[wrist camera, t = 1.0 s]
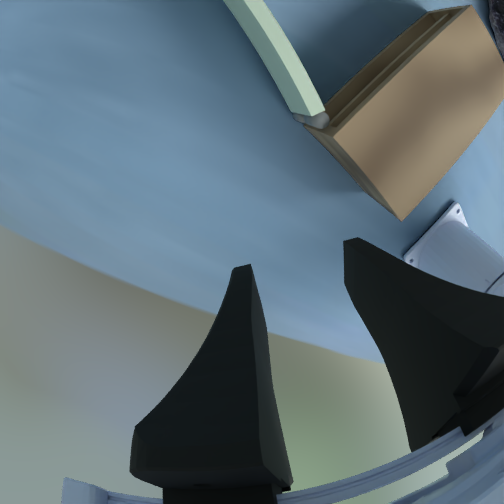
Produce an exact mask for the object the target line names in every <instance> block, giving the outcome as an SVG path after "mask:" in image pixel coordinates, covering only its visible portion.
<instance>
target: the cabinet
mask: <svg viewBox="0 0 504 504" xmlns="http://www.w3.org/2000/svg"><path fill="white" fill-rule="evenodd" d="M503 99H504V62H503V60H502V58H501V56H500V54H499V52H498V50H497V48H496V46H495V44H494V42H493V40H492V38H491V36H490V34H489V32H488V31H487V29H486V27H485V25H484V24H483V22H482V20H481V19H480V17H479V15H478V14H477V12H476V11H475V9H474V8H473V6H472V5H465V6H458V7H451V8H445V9H439V10H434V11H429V12H427V13H426V14H425V15H423V16H422V17H421V18H420V19H418V20H417V21H416V22H415V23H414V24H412V25H411V26H410V27H409V28H408V29H406V30H405V31H404V32H403V33H402V34H400V35H399V36H398V37H397V38H396V39H395V40H394V41H392V42H391V43H390V44H389V45H388V46H387V47H385V48H384V49H383V50H382V51H381V52H380V53H379V54H378V55H376V56H375V57H374V58H373V59H372V60H371V61H370V62H369V63H368V64H367V65H365V66H364V67H363V68H362V69H361V70H360V71H359V72H358V73H357V74H356V75H355V76H354V77H353V78H351V79H350V80H349V81H348V82H347V83H346V84H345V85H344V86H343V87H342V88H341V89H340V90H339V91H338V92H337V93H336V94H335V95H334V96H333V97H332V98H331V99H330V100H328V101H327V102H326V103H325V104H324V105H323V106H324V108H325V111H323V112H325V113H326V114H327V115H328V116H329V119H330V122H329V125H328V126H327V127H326V128H323V129H319V128H316V127H313V126H311V125H308V124H304V125H303V126H304V127H305V128H306V129H307V130H308V131H309V132H310V133H311V134H312V135H313V136H314V137H315V138H316V139H317V140H318V141H319V142H320V143H321V144H322V145H323V146H324V147H325V148H326V149H327V150H328V151H329V152H330V153H331V154H332V156H333V157H334V158H335V159H336V160H337V161H338V162H339V163H340V164H341V165H342V166H343V167H344V169H345V170H346V171H347V172H348V173H349V174H350V175H351V176H352V178H353V179H354V180H355V181H356V182H357V183H358V185H359V186H360V187H361V188H362V189H363V190H364V192H365V193H367V194H368V195H369V196H371V197H372V198H373V199H374V200H376V201H377V202H378V203H379V204H381V205H382V206H383V207H384V208H386V209H387V210H388V211H389V212H390V213H392V214H393V215H394V216H395V217H396V218H398V219H399V220H400V221H401V222H402V221H403V220H404V219H405V218H406V217H407V216H408V215H409V214H410V212H411V211H412V210H413V209H414V208H415V207H416V206H417V205H418V204H419V203H420V202H421V201H422V200H423V199H424V198H425V196H426V195H427V194H428V193H429V192H430V191H431V190H432V189H433V188H434V186H435V185H436V184H437V183H438V182H439V181H440V180H441V179H442V177H443V176H444V175H445V174H446V173H447V172H448V170H449V169H450V168H451V167H452V166H453V165H454V163H455V162H456V161H457V160H458V159H459V157H460V156H461V155H462V154H463V152H464V151H465V150H466V149H467V148H468V146H469V145H470V144H471V143H472V141H473V140H474V139H475V137H476V136H477V135H478V134H479V132H480V131H481V130H482V128H483V127H484V126H485V124H486V123H487V122H488V120H489V119H490V117H491V116H492V115H493V113H494V112H495V110H496V109H497V108H498V106H499V105H500V103H501V102H502V100H503Z"/></svg>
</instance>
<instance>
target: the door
mask: <svg viewBox="0 0 504 504" xmlns="http://www.w3.org/2000/svg"><path fill="white" fill-rule="evenodd" d="M223 1H224V2H225V4H226V5H227V7H228V8H229V9H230V11H231V12H232V14H233V15H234V17H235V18H236V20H237V21H238V23H239V24H240V26H241V27H242V29H243V30H244V32H245V33H246V35H247V36H248V38H249V39H250V41H251V43H252V44H253V46H254V47H255V49H256V51H257V52H258V54H259V56H260V57H261V59H262V61H263V62H264V64H265V66H266V67H267V69H268V71H269V72H270V74H271V76H272V78H273V79H274V81H275V83H276V85H277V87H278V88H279V90H280V92H281V94H282V96H283V98H284V99H285V101H286V103H287V105H288V107H289V109H290V111H291V112H293V118H294V119H295V120H296V121H298V122H302V123H305V124H308V125H311V126H313V127H316V128H319V129H323V128H326V127H327V126H328V125H329V122H330V119H329V116H328V115H327V114H326V113H325V112H323V111H325V108H324V106H323V104H322V102H321V100H320V98H319V96H318V94H317V92H316V90H315V88H314V86H313V84H312V82H311V80H310V78H309V76H308V74H307V72H306V70H305V68H304V67H303V65H302V63H301V61H300V59H299V57H298V56H297V54H296V52H295V50H294V49H293V47H292V45H291V44H290V42H289V40H288V38H287V37H286V35H285V34H284V32H283V30H282V29H281V27H280V25H279V24H278V22H277V21H276V19H275V18H274V16H273V15H272V13H271V12H270V10H269V9H268V7H267V6H266V4H265V3H264V1H263V0H223Z"/></svg>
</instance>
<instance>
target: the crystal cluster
mask: <svg viewBox="0 0 504 504" xmlns="http://www.w3.org/2000/svg"><path fill="white" fill-rule="evenodd" d="M489 8H490V15H489V19H490V23H491V27H492V29H493V31H494V33H495V38H496V42H497V46H498V48H499V50H500V51H501V53H502V56H503V58H504V0H489Z"/></svg>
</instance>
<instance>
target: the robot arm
mask: <svg viewBox="0 0 504 504" xmlns="http://www.w3.org/2000/svg"><path fill="white" fill-rule="evenodd" d="M343 246H344V284H345V286H346V288H347V291H348V293H349V296H350V298H351V300H352V302H353V305H354V306H355V308H356V310H357V312H358V313H359V315H360V317H361V318H362V320H363V322H364V324H365V325H366V327H367V329H368V331H369V332H370V334H371V336H372V338H373V339H374V341H375V343H376V345H377V346H378V348H379V350H380V352H381V355H382V357H383V359H384V362H385V364H386V367H387V369H388V372H389V374H390V377H391V380H392V383H393V386H394V389H395V391H396V394H397V398H398V401H399V404H400V408H401V411H402V415H403V419H404V422H405V427H406V432H407V436H408V442H409V446H410V449H411V452H412V453H410V454H408V455H406V456H403V457H401V458H399V459H397V460H394V461H392V462H390V463H388V464H385V465H382V466H380V467H377V468H375V469H372V470H370V471H367V472H364V473H361V474H358V475H355V476H352V477H349V478H346V479H343V480H339V481H336V482H332V483H329V484H325V485H321V486H317V487H313V488H308V489H304V490H300V491H294V492H289V493H283V494H282V492H285V491H290V490H291V488H290V486H291V484H292V483H293V477H292V473H291V469H290V465H289V460H288V456H287V451H286V447H285V442H284V437H283V433H282V429H281V424H280V419H279V414H278V409H277V404H276V399H275V395H274V390H273V384H272V375H271V365H270V355H269V345H268V335H267V327H266V322H265V317H264V313H263V308H262V304H261V300H260V296H259V293H258V289H257V285H256V282H255V278H254V274H253V270H252V267H251V264H248V265H244V266H240V267H236V268H234V269H233V270H232V273H231V278H230V281H229V285H228V288H227V291H226V294H225V297H224V299H223V302H222V305H221V307H220V310H219V312H218V314H217V316H216V319H215V321H214V323H213V325H212V327H211V329H210V332H209V333H208V335H207V338H206V339H205V341H204V343H203V344H202V346H201V348H200V349H199V351H198V353H197V354H196V356H195V358H194V359H193V360H192V362H191V363H190V365H189V367H188V368H187V370H186V371H185V372H184V374H183V375H182V376H181V378H180V379H179V380H178V381H177V383H176V384H175V385H174V386H173V387H172V389H171V390H170V391H169V392H168V394H167V395H166V396H165V397H164V398H163V399H162V400H161V402H160V403H159V404H158V405H157V406H156V407H155V408H154V409H153V410H152V411H151V412H150V413H149V414H148V415H147V416H146V417H145V418H144V419H143V420H142V421H140V422H139V423H138V424H137V425H136V426H135V430H134V434H133V438H132V447H131V457H130V473H131V474H132V475H133V476H134V477H136V478H138V479H140V480H142V481H145V482H147V483H150V484H153V485H155V486H158V487H161V488H163V499H158V498H149V497H140V496H133V495H127V494H121V493H115V492H110V491H107V490H106V489H103V488H100V487H98V486H95V485H92V484H88V483H84V482H81V481H77V480H74V479H70V478H67V477H65V478H64V482H63V490H62V501H61V504H332V503H335V502H339V501H342V500H346V499H349V498H352V497H355V496H358V495H361V494H364V493H367V492H370V491H372V490H375V489H378V488H380V487H383V486H385V485H388V484H390V483H392V482H395V481H397V480H400V479H402V478H404V477H406V476H408V475H410V474H412V473H414V472H416V471H418V470H420V469H422V468H424V467H426V466H428V465H430V464H432V463H433V462H435V461H437V460H439V459H441V458H442V457H444V456H446V455H447V454H449V453H451V452H452V451H454V450H456V449H457V448H459V447H460V446H462V445H463V444H465V443H466V442H468V441H469V440H471V439H472V438H474V437H475V436H476V435H478V434H479V433H481V432H482V431H483V430H484V433H483V438H482V439H481V440H480V441H479V442H477V443H476V444H475V445H473V446H472V447H470V448H469V449H467V450H466V451H464V452H463V453H461V454H460V455H458V456H457V457H455V458H453V459H452V460H450V461H449V462H447V463H446V467H447V470H448V472H449V473H448V474H447V475H445V476H443V477H442V478H440V479H438V480H436V481H435V482H432V483H431V484H429V485H427V486H425V487H423V488H421V489H419V490H417V491H415V492H412V493H411V494H408V495H406V496H404V497H401V498H399V499H397V500H394V501H393V502H390V503H387V504H504V257H503V256H501V255H500V254H499V253H498V252H497V251H496V250H495V249H493V248H492V247H491V246H490V245H489V244H488V243H486V242H485V241H484V240H483V239H482V238H480V237H479V236H478V235H477V234H475V233H474V232H473V231H472V230H470V229H469V227H468V225H467V222H466V219H465V217H464V214H463V212H462V209H461V207H460V205H459V203H458V202H454V203H453V204H452V205H451V206H450V207H449V208H448V209H447V210H446V212H445V213H444V214H443V215H442V216H441V217H440V218H439V219H438V220H437V222H436V223H435V224H434V225H433V226H432V227H431V228H430V229H429V230H428V231H427V232H426V233H425V234H424V235H423V236H422V237H421V238H420V240H419V241H418V242H417V243H416V244H415V245H414V246H413V247H412V248H411V249H410V250H409V251H408V252H407V253H406V254H405V255H404V260H405V262H404V261H402V260H400V259H398V258H396V257H394V256H392V255H391V254H389V253H387V252H385V251H383V250H382V249H380V248H378V247H376V246H374V245H372V244H370V243H369V242H367V241H365V240H363V239H361V238H358V237H357V238H353V239H349V240H345V241H343Z"/></svg>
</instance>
